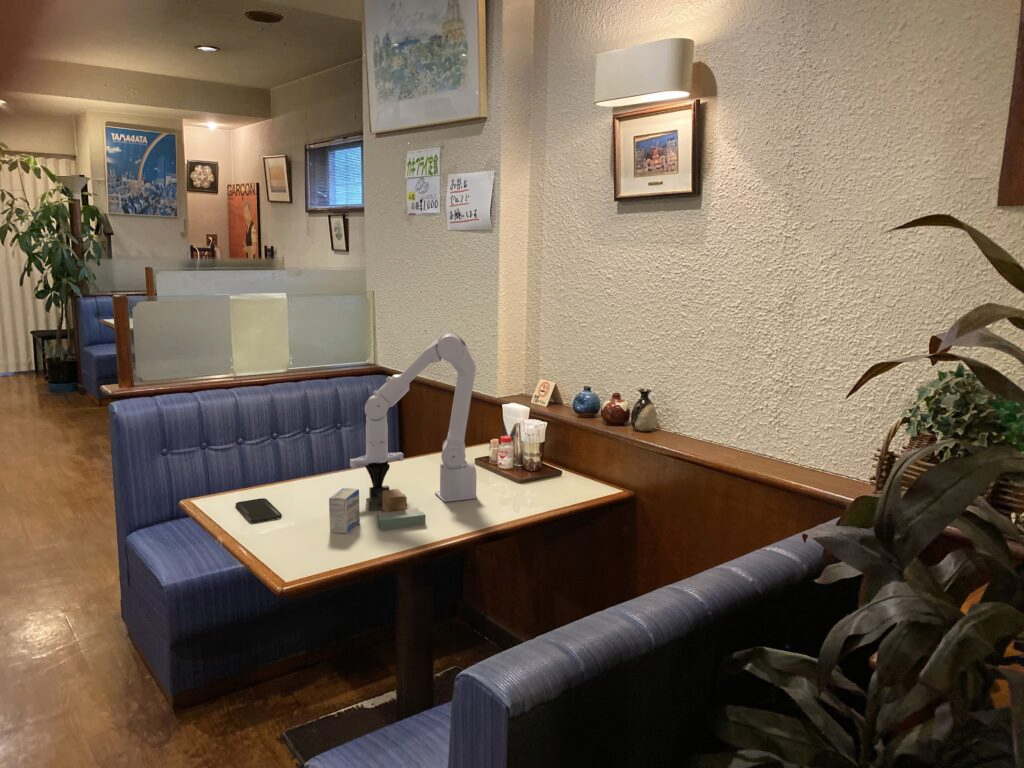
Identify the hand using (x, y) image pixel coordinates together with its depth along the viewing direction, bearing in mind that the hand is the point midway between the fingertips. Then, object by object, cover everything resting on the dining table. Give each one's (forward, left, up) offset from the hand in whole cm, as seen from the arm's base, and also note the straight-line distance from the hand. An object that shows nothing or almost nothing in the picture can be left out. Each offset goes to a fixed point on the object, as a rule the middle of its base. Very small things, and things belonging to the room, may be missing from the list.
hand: (377, 489), depth 206 cm
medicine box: (+13, +19, -2) cm, 23 cm away
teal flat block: (0, +22, -2) cm, 22 cm away
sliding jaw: (0, +6, -2) cm, 6 cm away
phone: (+31, +1, -2) cm, 31 cm away
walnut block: (0, +16, -2) cm, 16 cm away
